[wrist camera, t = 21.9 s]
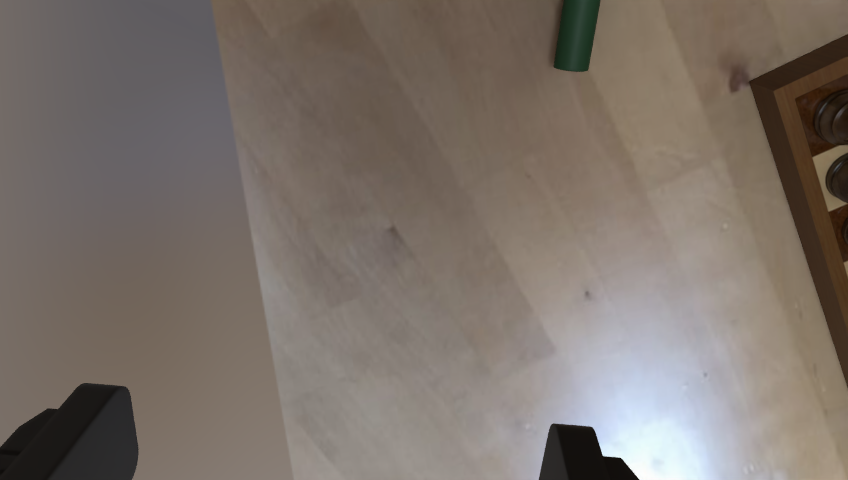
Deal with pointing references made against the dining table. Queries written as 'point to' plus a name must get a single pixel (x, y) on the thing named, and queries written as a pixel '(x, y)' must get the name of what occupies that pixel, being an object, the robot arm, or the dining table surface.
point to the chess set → (815, 167)
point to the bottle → (576, 35)
